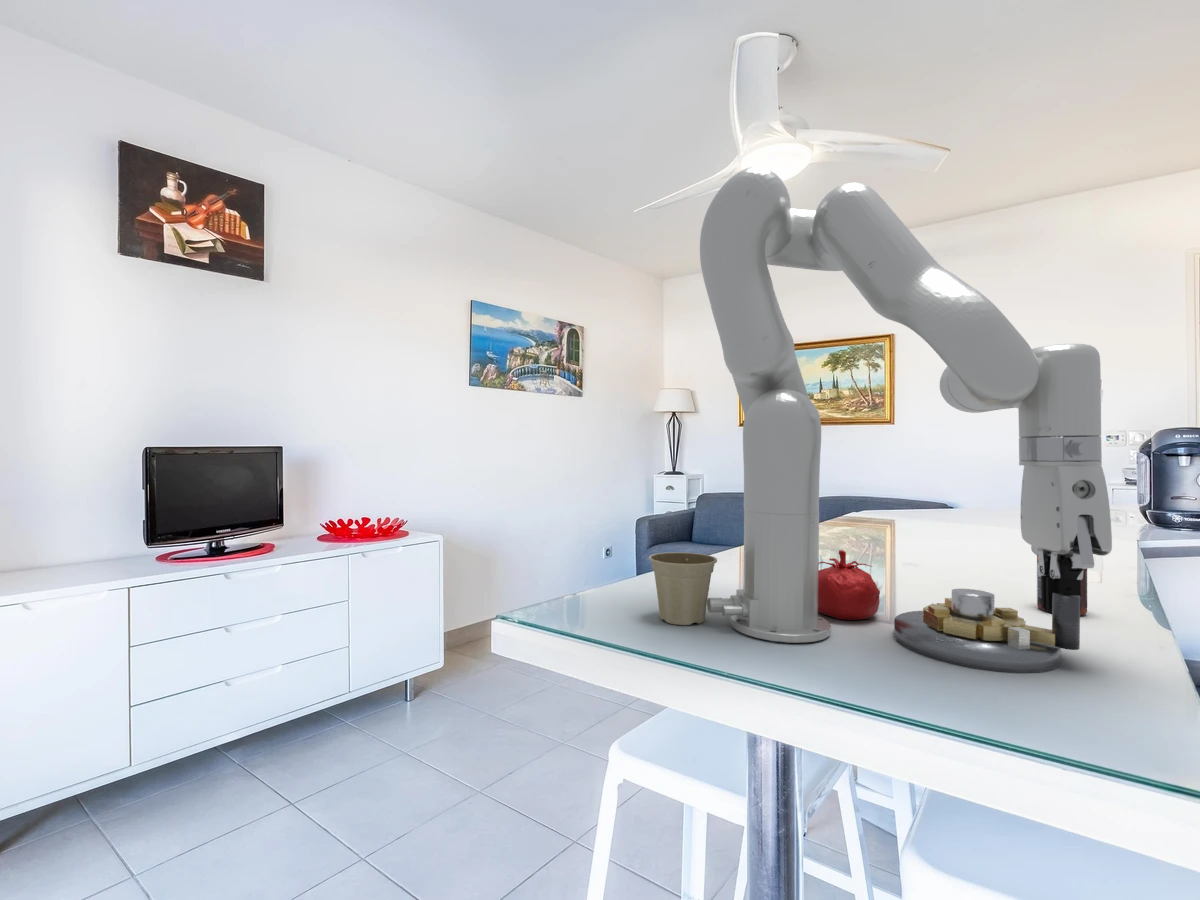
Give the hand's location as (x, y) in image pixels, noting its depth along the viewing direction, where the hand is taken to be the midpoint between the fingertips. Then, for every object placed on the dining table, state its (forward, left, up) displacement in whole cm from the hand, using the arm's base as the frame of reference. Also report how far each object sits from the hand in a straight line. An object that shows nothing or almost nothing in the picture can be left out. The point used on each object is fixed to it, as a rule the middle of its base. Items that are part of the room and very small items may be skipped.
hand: (1060, 611), depth 67 cm
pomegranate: (-16, +18, -6) cm, 25 cm away
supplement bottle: (+18, +18, -6) cm, 26 cm away
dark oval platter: (-7, +4, -5) cm, 10 cm away
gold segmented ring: (-6, +2, -3) cm, 7 cm away
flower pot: (-40, +17, -6) cm, 44 cm away
